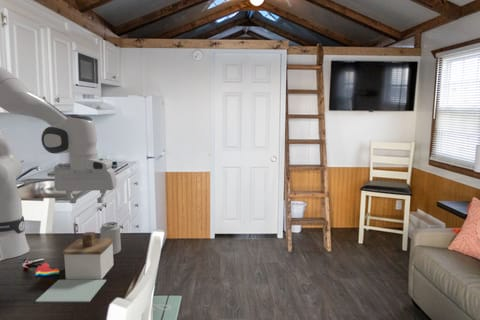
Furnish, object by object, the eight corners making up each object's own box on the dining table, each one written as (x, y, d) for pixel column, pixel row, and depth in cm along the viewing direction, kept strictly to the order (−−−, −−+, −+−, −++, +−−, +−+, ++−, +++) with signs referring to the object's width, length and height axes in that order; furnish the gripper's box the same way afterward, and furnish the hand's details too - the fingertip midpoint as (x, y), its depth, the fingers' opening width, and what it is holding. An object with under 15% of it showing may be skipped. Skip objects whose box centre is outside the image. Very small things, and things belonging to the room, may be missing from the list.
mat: (35, 302, 109) (35, 301, 109) (58, 280, 123) (58, 279, 123) (89, 302, 109) (89, 300, 109) (106, 280, 123) (106, 279, 123)
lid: (61, 254, 122) (60, 240, 122) (78, 241, 135) (78, 227, 135) (100, 254, 122) (100, 240, 122) (114, 240, 135) (113, 227, 135)
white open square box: (65, 279, 124) (64, 254, 123) (81, 264, 136) (79, 241, 135) (101, 279, 124) (100, 253, 123) (113, 264, 136) (112, 241, 135)
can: (124, 249, 151) (122, 221, 150) (116, 256, 144) (114, 227, 142) (106, 249, 152) (105, 220, 150) (97, 256, 144) (96, 226, 143)
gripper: (48, 164, 122) (52, 205, 124) (110, 164, 122) (112, 204, 124) (58, 162, 128) (61, 201, 130) (116, 161, 128) (119, 200, 130)
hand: (86, 202), depth 127 cm, fingers open, 8 cm apart
